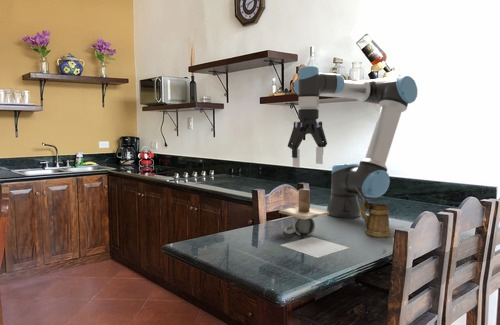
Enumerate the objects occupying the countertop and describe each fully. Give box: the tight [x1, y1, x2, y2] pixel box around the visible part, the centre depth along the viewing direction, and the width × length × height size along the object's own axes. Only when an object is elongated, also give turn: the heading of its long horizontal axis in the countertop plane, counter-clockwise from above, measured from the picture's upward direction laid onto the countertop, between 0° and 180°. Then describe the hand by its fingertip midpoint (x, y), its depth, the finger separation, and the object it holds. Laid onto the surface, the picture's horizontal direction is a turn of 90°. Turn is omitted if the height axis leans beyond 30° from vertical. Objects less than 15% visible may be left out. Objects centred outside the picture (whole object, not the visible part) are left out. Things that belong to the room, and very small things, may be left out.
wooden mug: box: [355, 186, 392, 238], centre depth 148 cm, size 9×14×18 cm, turn 82°
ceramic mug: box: [283, 217, 316, 236], centre depth 148 cm, size 11×8×8 cm
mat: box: [280, 236, 350, 259], centre depth 131 cm, size 16×16×1 cm
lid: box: [278, 188, 330, 219], centre depth 147 cm, size 13×13×9 cm
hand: (308, 165), depth 151 cm, fingers open, 13 cm apart
